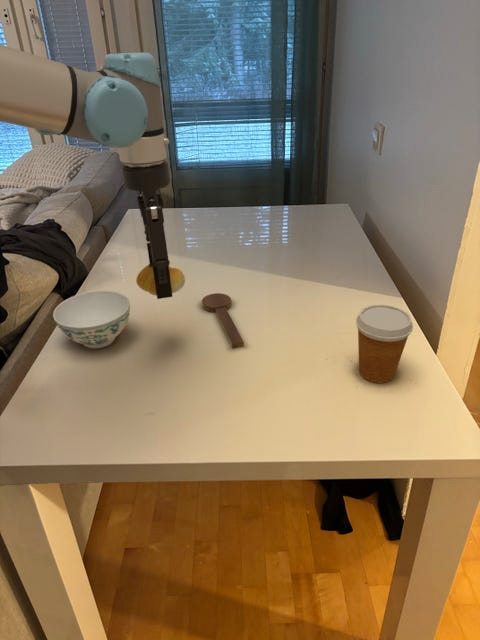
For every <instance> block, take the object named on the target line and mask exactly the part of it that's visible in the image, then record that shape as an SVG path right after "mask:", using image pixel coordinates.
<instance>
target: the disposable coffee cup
mask: <svg viewBox="0 0 480 640" xmlns="http://www.w3.org/2000/svg"><path fill="white" fill-rule="evenodd" d="M355 324H356V328H357V337H358V338H357V339H358V342H357V343H358V348H357V349H358V373H359V375H360V376H361V378H363V379H364V380H366V381H368V382H370V383H374V384H386V383H389V382H391V381H393V379H394V378H395V375H396V372H397V370H398V366H399V364H400V360H401V359H402V355H403V352H404V350H405V347H406V344H407V340H408V338H409V336H410V335H411V333H412V332H413V330H414V325H413V322H412V317H411V315H410V314H409V313H408V311H407V312H406V311H405V310H404V309H402V308H400V307H397V306H393V305H389V304H372V305H367V306H365V307H364V308H362V309H361V310H360V311H359V314H357V316H356V318H355Z"/></svg>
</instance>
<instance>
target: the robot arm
mask: <svg viewBox="0 0 480 640" xmlns="http://www.w3.org/2000/svg"><path fill="white" fill-rule="evenodd" d="M103 61H104V62H103V63H104V64H103V65H104V66H103V69H100V70H96V71H89V70H85V69H82V68H79V67H75V66H71V65H66V64H65V63H63V62H59V61H56V60H53V59H49V58H46V57H43V56H40V55H37V54H33V53H30V52H27V51H23V50H20V49H18V48H13V47H11V46H7V45H3V44H0V123H1V122H2V123H4V124H5V123H6V124H11V125H16V126H20V127H24V128H30V129H34V130H35V132H36V133H38V134H39V135H42V136H51V135H56V136H61V135H62V136H66V137H71V138H74V139H75V138H76V139H78V140H79V139H80V140H85V141H90V142H94V143H98V144H99V145H101V146H103V147H107V148H117V150H118V156H119V161H120V162H121V163H123V164H122V166H121V173H122V179H123V184H124V188H126V189H127V190H129V191H132V192H138V193H139V195H137V196H136V199H137V205H138V207H139V211H140V216H141V218H142V223H143V227H144V231H143V232H144V235H145V241H146V246H147V254H148V262H149V263H148V265H149V267H153V273H154V280H155V287H156V294H157V296H156V299H157V300H160V299H166V298H172V297H173V293H172V288H171V280H170V273H169V266H170V264H171V262H170V259H169V254H168V246H167V239H166V232H165V227H164V223H165V219H164V211H163V208H164V203H163V198H162V197H161V194H160V193H157V191H158V190H160V189H164V188H167V187H168V186H169V185H170V183H171V179H170V169H169V163H168V162H167V160H166V159H167V156H168V155H167V147H166V146H165V145H169V144H170V139H169V138H168V137H165V129H164V128H165V127H164V118H163V111H162V110H163V108H162V107H163V106H162V100H161V99H162V97H161V84H160V77H159V75H158V74H159V73H158V68H157V63H156V59H155V58H154V56H153V54H151V53H149V52H121V53H108V54H106V55H105V56H104V59H103Z"/></svg>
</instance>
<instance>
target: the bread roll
mask: <svg viewBox="0 0 480 640" xmlns="http://www.w3.org/2000/svg"><path fill="white" fill-rule="evenodd" d="M169 273H170V280H171V288H172V294H175V293H178V292H179V291H180V290H181V289H183V288H184V286H185V282H186V279H185V278H186V277H185V275H184V272H183V271H182V270H181V269H180V268H176V267H172V266H170V265H169ZM135 281H136V284H137V286H138V288H140V290H142V291H144V292H147V293H149V295H153V296H155V297H157V294H156V287H155V280H154V273H153V267H149V264H147V265H146V266H144V267H143V268H142V269H141V270H140V271H139V272H138V274H137V276H136V280H135Z"/></svg>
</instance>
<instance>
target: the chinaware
mask: <svg viewBox="0 0 480 640" xmlns="http://www.w3.org/2000/svg"><path fill="white" fill-rule="evenodd" d="M130 312H131V301H130V298H128V296H126V295H125V294H123V293H122V292H117V291H113V290H92V291H87V292H82V293H79V294H76V295H72V296H70V297H69V298H67V299H65V300H63V301H62V302H60V303H59V304H58V305H57V306H56V307H55V308H54V310H53V313H52V316H53V320H54V322H55V324H56V325H57V328H59V330H60V331H61V332H62V333H63V334H64V335H65V336H66V337H67V338H68V339H70V340H72V341H74V342H76V343H78V344H81V345H83V346H84V347H86V348H89V349H101V348H104V347H107V346H109V345H111V344H112V343H113V342H114V341H115V340H116V337H118V336H119V335H120V333H122V331H123V330H124V328H125V327H126V325H127V324H128V320H129V317H130Z"/></svg>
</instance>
